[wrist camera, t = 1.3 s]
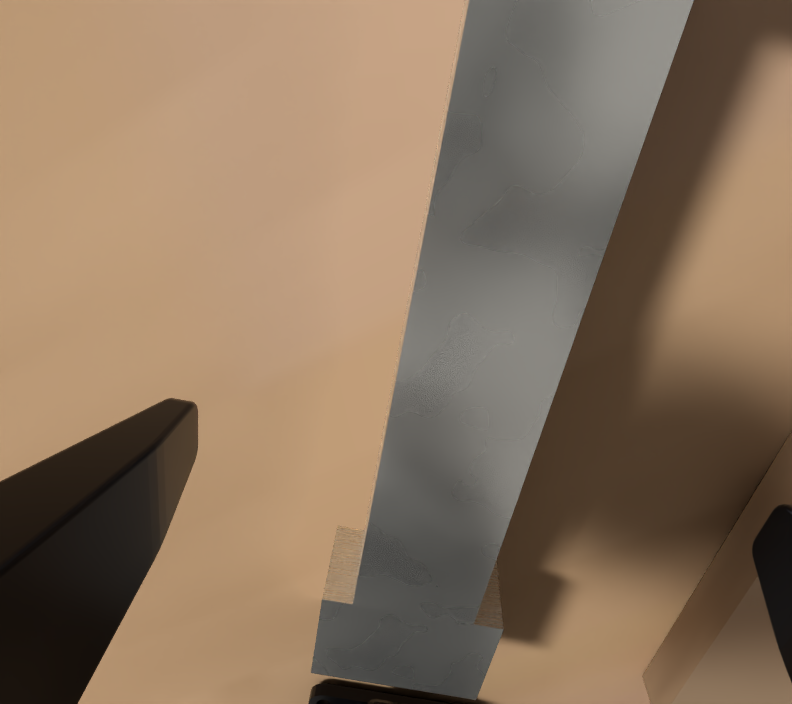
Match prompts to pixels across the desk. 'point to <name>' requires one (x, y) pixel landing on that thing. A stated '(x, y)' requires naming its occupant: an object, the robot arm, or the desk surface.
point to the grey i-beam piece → (490, 324)
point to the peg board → (728, 620)
